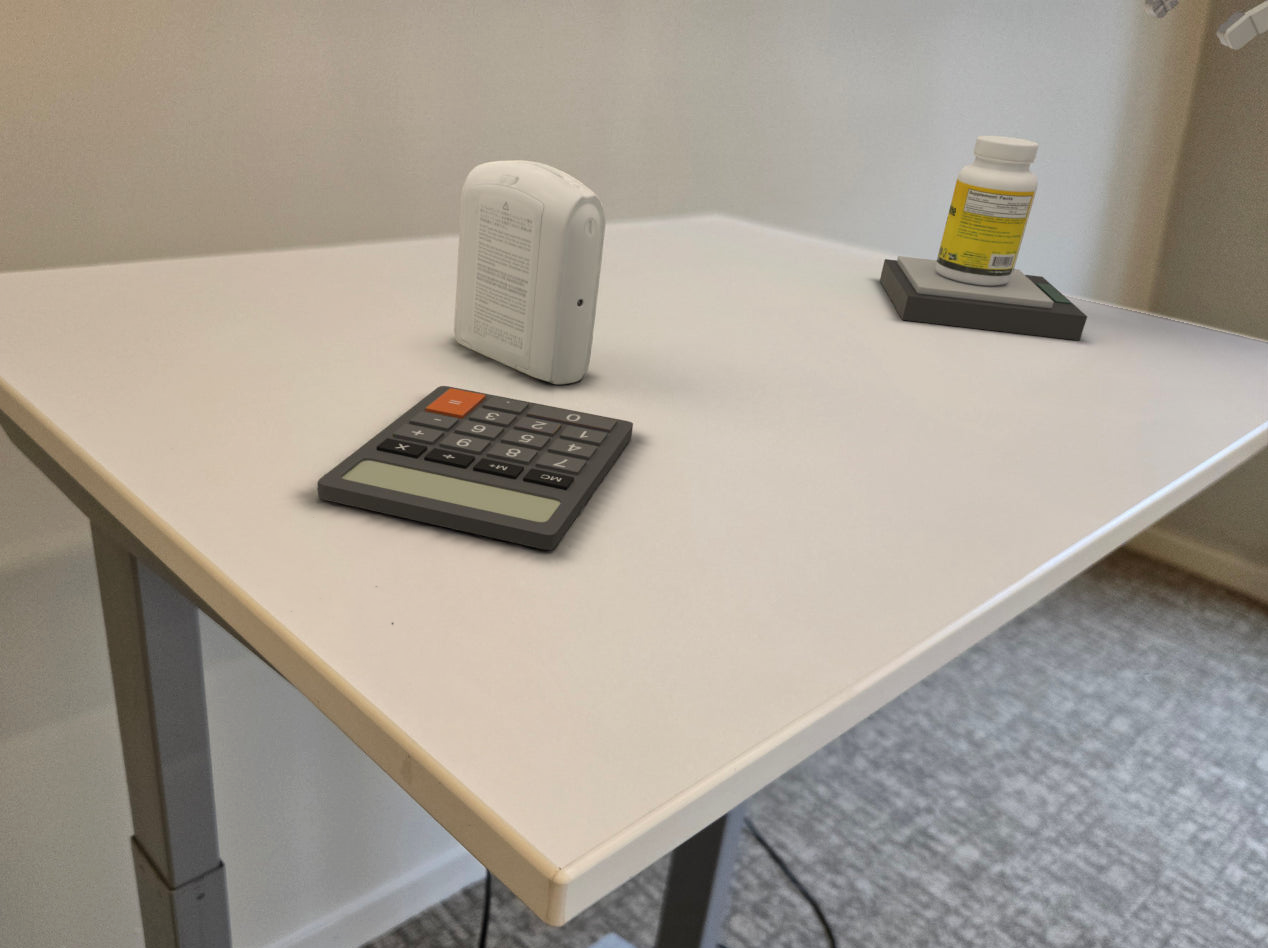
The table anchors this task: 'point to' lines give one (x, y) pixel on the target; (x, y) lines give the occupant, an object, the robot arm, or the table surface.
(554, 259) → the photo printer
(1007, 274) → the pill bottle
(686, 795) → the table surface
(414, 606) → the table surface
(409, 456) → the calculator
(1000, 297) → the scale
